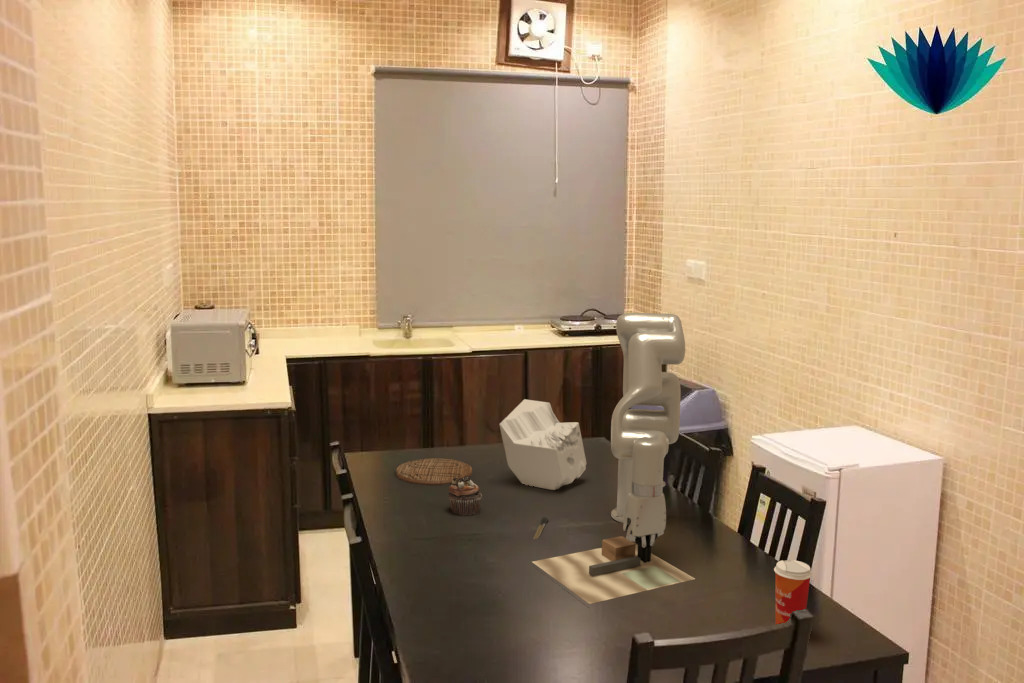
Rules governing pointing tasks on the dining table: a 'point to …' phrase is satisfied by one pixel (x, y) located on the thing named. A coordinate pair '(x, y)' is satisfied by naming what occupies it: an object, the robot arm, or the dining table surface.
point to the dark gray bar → (614, 565)
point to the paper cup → (790, 588)
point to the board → (609, 575)
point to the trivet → (433, 471)
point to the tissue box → (542, 446)
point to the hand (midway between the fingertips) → (644, 560)
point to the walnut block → (618, 548)
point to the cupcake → (464, 496)
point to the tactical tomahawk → (541, 527)
